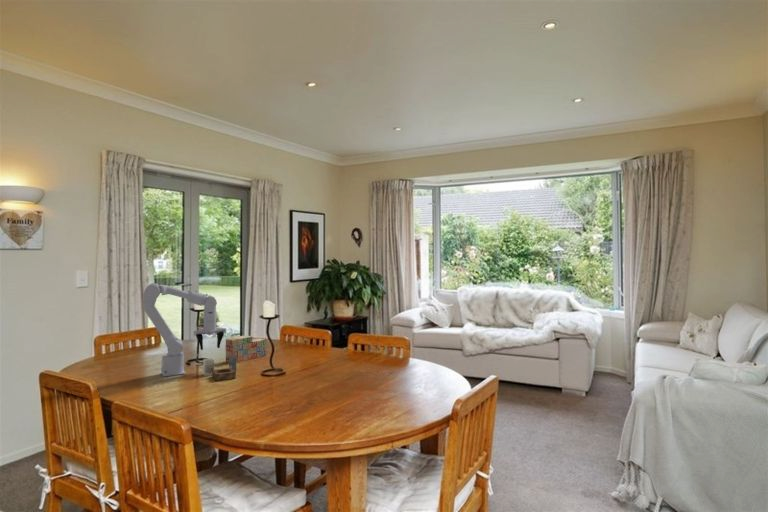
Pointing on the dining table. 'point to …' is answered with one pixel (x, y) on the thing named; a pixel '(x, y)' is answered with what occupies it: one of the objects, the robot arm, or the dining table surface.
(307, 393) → the dining table surface
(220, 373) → the walnut bore block
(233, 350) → the stack of blocks
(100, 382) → the dining table surface
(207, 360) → the block
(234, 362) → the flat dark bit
